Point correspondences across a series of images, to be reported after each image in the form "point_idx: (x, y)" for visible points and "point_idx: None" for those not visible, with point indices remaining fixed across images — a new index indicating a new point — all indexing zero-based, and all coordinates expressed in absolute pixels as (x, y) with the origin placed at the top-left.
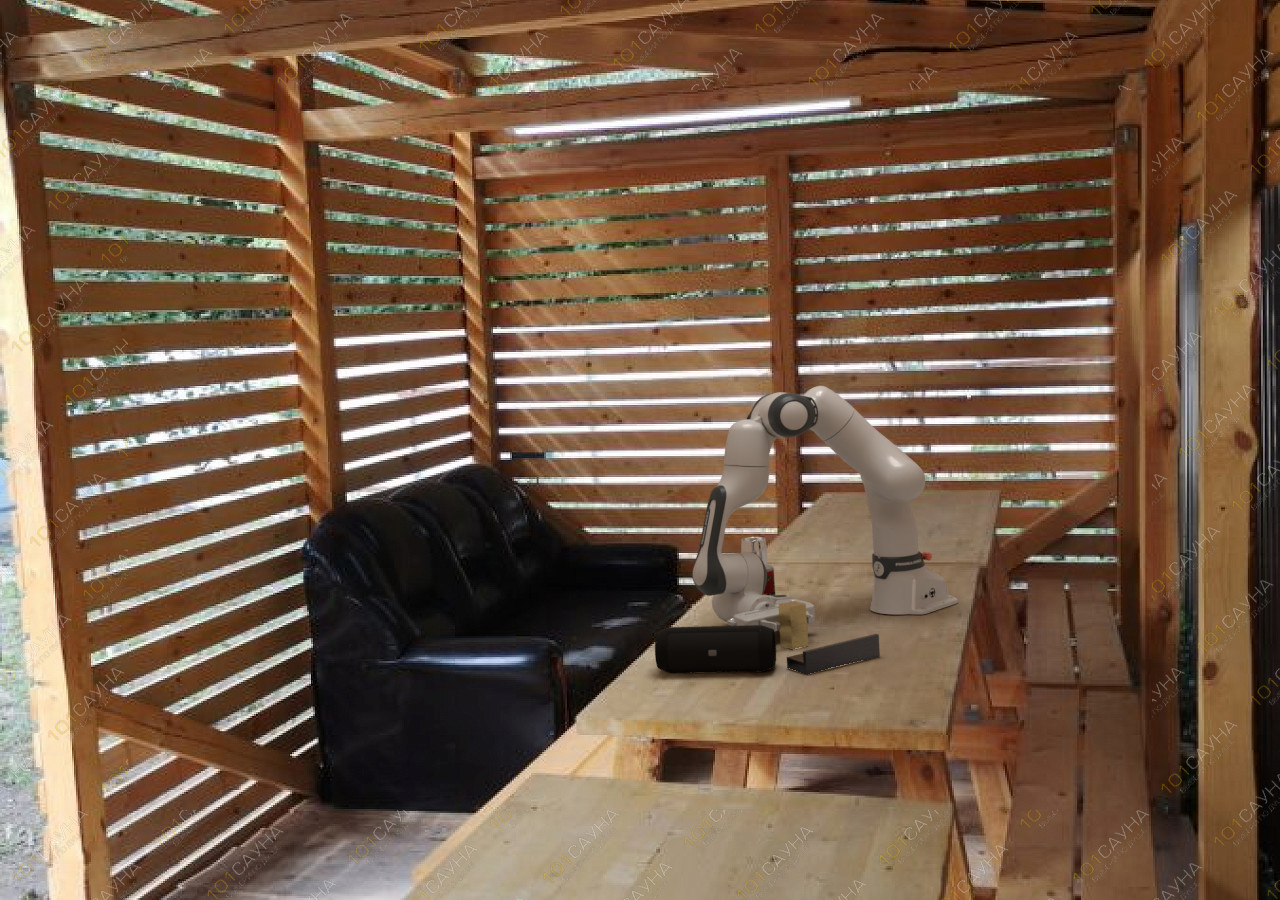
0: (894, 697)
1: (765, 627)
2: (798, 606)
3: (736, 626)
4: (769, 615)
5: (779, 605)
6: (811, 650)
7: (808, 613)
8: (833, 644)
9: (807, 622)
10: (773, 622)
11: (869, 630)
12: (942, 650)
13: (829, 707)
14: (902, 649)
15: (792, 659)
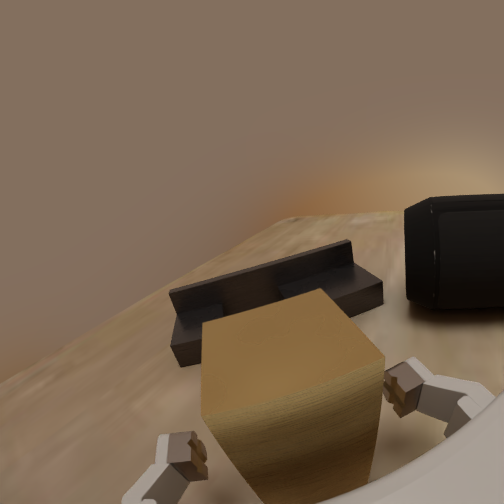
0: (279, 240)
1: (420, 202)
2: (259, 313)
3: (484, 195)
4: (443, 443)
5: (375, 351)
6: (334, 243)
7: (146, 471)
8: (281, 260)
9: (205, 451)
10: (418, 378)
11: (33, 469)
12: (106, 327)
13: (348, 227)
14: (126, 347)
15: (371, 274)
